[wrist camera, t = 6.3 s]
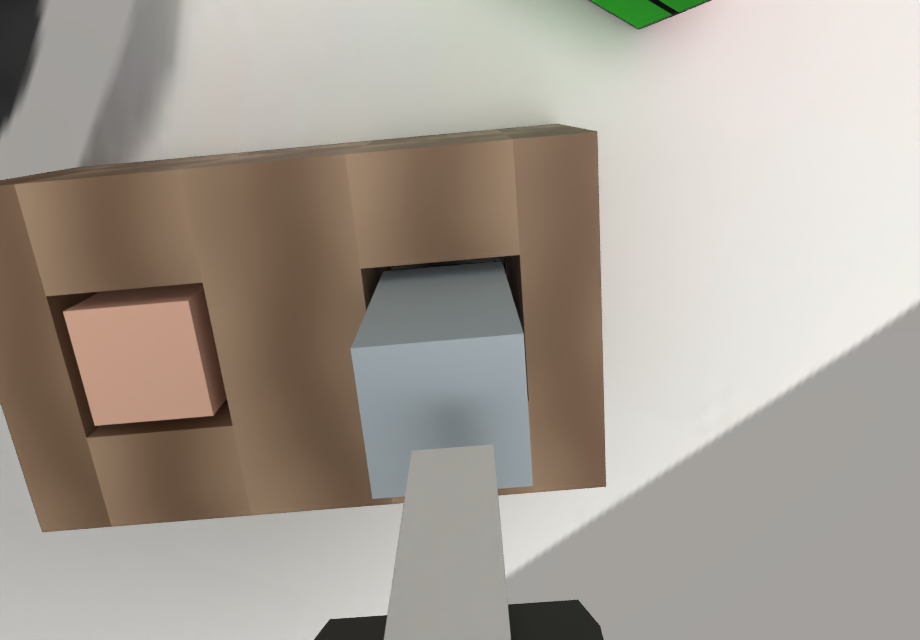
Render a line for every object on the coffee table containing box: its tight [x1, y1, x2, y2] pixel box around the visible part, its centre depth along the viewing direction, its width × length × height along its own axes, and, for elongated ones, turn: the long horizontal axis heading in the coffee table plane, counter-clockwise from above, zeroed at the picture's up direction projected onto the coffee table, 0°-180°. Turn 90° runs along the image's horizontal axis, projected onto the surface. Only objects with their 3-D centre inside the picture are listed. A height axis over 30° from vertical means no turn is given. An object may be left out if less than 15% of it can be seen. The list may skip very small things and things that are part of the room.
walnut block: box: [0, 124, 606, 532], centre depth 26 cm, size 20×12×8 cm, turn 95°
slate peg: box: [351, 261, 533, 499], centre depth 20 cm, size 4×4×8 cm
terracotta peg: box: [63, 283, 227, 426], centre depth 25 cm, size 4×4×8 cm
